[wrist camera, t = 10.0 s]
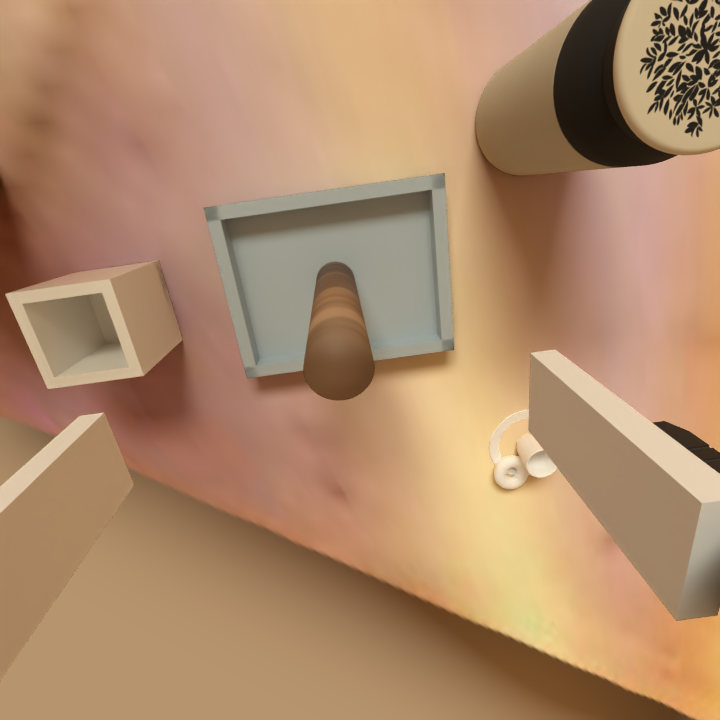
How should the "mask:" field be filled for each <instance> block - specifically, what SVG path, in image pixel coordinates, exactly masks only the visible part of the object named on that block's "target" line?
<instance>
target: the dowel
mask: <svg viewBox="0 0 720 720" xmlns="http://www.w3.org/2000/svg"><path fill="white" fill-rule="evenodd" d="M374 369H375V366H374V359H373V355H372V351H371V346H370V342H369V338H368V334H367V329H366V325H365V321H364V316H363V312H362V308H361V304H360V299H359V295H358V291H357V286H356V282H355V278H354V274H353V272H352V270H351V269H350V268H349V267H348V266H347V265H346V264H344V263H341V262H329V263H327V264H325V265H324V266H323V267H321V269H320V270H319V272H318V274H317V278H316V285H315V291H314V298H313V305H312V311H311V318H310V325H309V331H308V338H307V344H306V351H305V358H304V364H303V372H304V376H305V379H306V382H307V383H308V385H309V386H310V388H311V389H312V390H313V391H314V392H316V393H317V394H318V395H320V396H322V397H324V398H327V399H331V400H346V399H350V398H353V397H355V396H357V395H359V394H361V393H362V392H363V391H364V390H365V389H366V388H367V387H368V386H369V384H370V383H371V381H372V378H373V375H374Z"/></svg>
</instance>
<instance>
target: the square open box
mask: <svg viewBox="0 0 720 720" xmlns="http://www.w3.org/2000/svg"><path fill="white" fill-rule="evenodd" d="M5 295H6V297H7V299H8V302H9V304H10V306H11V308H12V311H13V313H14V315H15V317H16V319H17V322H18V324H19V326H20V328H21V331H22V333H23V335H24V337H25V340H26V342H27V344H28V346H29V348H30V351H31V353H32V355H33V357H34V360H35V362H36V364H37V366H38V368H39V371H40V373H41V375H42V377H43V380H44V382H45V384H46V386H47V388H48V389H53V388H60V387H67V386H74V385H82V384H89V383H96V382H103V381H111V380H118V379H125V378H132V377H140V376H144V375H145V374H146V373H147V372H149V371H150V370H151V369H152V368H153V367H154V366H155V365H156V364H157V363H158V362H159V361H160V360H161V359H162V358H164V357H165V356H166V355H167V354H168V353H169V352H170V351H171V350H172V349H173V348H174V347H175V346H176V345H178V344H179V343H180V342H181V341H182V340H183V339H182V336H181V332H180V329H179V326H178V323H177V319H176V316H175V313H174V309H173V306H172V303H171V300H170V296H169V293H168V290H167V286H166V283H165V280H164V277H163V273H162V270H161V267H160V263H159V261H151V262H144V263H137V264H130V265H123V266H116V267H109V268H102V269H95V270H88V271H81V272H75V273H72V274H68V275H65V276H62V277H59V278H55V279H52V280H49V281H45V282H42V283H39V284H36V285H32V286H29V287H26V288H23V289H19V290H16V291H13V292H9V293H6V294H5Z"/></svg>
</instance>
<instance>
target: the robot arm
mask: <svg viewBox="0 0 720 720" xmlns="http://www.w3.org/2000/svg"><path fill="white" fill-rule="evenodd" d="M528 430H529V432H530V433H531V434H532V435H533V437H534V438H535V439H536V441H537V442H538V443H539V445H540V446H541V447H542V448H543V450H544V451H545V452H546V454H547V455H548V456H549V457H550V459H551V460H552V461H553V463H554V464H555V465H556V466H557V468H558V469H559V470H560V472H561V473H562V474H563V475H564V477H565V478H566V479H567V481H568V482H569V483H570V485H571V486H572V487H573V488H574V490H575V491H576V492H577V494H578V495H579V496H580V497H581V499H582V500H583V501H584V503H585V504H586V505H587V506H588V508H589V509H590V510H591V512H592V513H593V514H594V515H595V517H596V518H597V519H598V521H599V522H600V523H601V525H602V526H603V527H604V528H605V530H606V531H607V532H608V534H609V535H610V536H611V537H612V539H613V540H614V541H615V543H616V544H617V545H618V546H619V548H620V549H621V550H622V552H623V553H624V554H625V556H626V557H627V558H628V559H629V561H630V562H631V563H632V565H633V566H634V567H635V568H636V570H637V571H638V572H639V574H640V575H641V576H642V577H643V579H644V580H645V581H646V583H647V584H648V585H649V586H650V588H651V589H652V590H653V592H654V593H655V594H656V596H657V597H658V598H659V599H660V601H661V602H662V603H663V605H664V606H665V607H666V608H667V610H668V611H669V612H670V614H671V615H672V616H673V617H674V619H675V620H676V621H679V620H686V619H694V618H701V617H708V616H716V615H718V611H719V608H720V453H719V452H718V451H717V450H715V449H714V448H710V447H709V445H708V444H707V443H705V442H704V441H702V440H701V439H700V438H698V437H697V436H695V435H694V434H692V433H691V432H690V431H687V430H685V429H682V428H680V427H677V426H675V425H673V424H670V423H668V422H665V421H661V422H654V423H652V422H650V421H649V420H648V419H647V418H645V417H644V416H643V415H641V414H640V413H639V412H637V411H636V410H635V409H633V408H632V407H631V406H629V405H628V404H627V403H625V402H624V401H623V400H621V399H620V398H619V397H617V396H616V395H615V394H614V393H612V392H611V391H610V390H608V389H607V388H606V387H604V386H603V385H602V384H600V383H599V382H598V381H596V380H595V379H594V378H592V377H591V376H590V375H588V374H587V373H586V372H584V371H583V370H582V369H581V368H579V367H578V366H577V365H575V364H574V363H573V362H571V361H570V360H569V359H567V358H566V357H565V356H563V355H562V354H561V353H559V352H558V351H557V350H555V349H554V350H547V351H540V352H533V353H530V384H529V429H528ZM133 486H134V484H133V481H132V479H131V476H130V474H129V471H128V469H127V467H126V464H125V462H124V459H123V457H122V455H121V452H120V450H119V447H118V445H117V442H116V440H115V438H114V435H113V433H112V430H111V428H110V426H109V423H108V421H107V418H106V416H105V414H104V413H97V414H90V415H83V416H79V417H78V418H77V419H76V420H74V421H73V422H72V423H71V424H70V425H69V426H68V427H67V428H65V429H64V430H63V431H62V432H61V433H60V434H59V435H58V436H56V437H55V438H54V439H53V440H52V441H51V442H50V443H49V444H47V445H46V446H45V447H44V448H43V449H42V450H41V451H40V452H39V453H37V454H36V455H35V456H34V457H33V458H32V459H31V460H29V461H28V462H27V463H26V464H25V465H24V466H23V467H22V468H21V469H19V470H18V471H17V472H16V473H15V474H14V475H13V476H12V477H10V478H9V479H8V480H7V481H6V482H5V483H4V484H3V485H2V486H0V681H1V679H2V678H3V676H4V675H5V673H6V672H7V670H8V669H9V668H10V666H11V665H12V663H13V662H14V660H15V659H16V657H17V656H18V654H19V653H20V651H21V650H22V648H23V647H24V645H25V644H26V643H27V641H28V640H29V638H30V637H31V635H32V634H33V632H34V631H35V629H36V628H37V626H38V625H39V624H40V622H41V621H42V619H43V618H44V616H45V615H46V613H47V612H48V610H49V609H50V607H51V606H52V605H53V603H54V602H55V600H56V599H57V597H58V595H59V594H60V593H61V591H62V590H63V588H64V587H65V585H66V584H67V583H68V581H69V579H70V578H71V577H72V575H73V574H74V572H75V571H76V569H77V568H78V566H79V565H80V563H81V562H82V561H83V559H84V558H85V556H86V555H87V553H88V552H89V550H90V549H91V547H92V546H93V544H94V543H95V541H96V540H97V538H98V537H99V536H100V534H101V533H102V531H103V530H104V528H105V527H106V525H107V524H108V522H109V521H110V519H111V518H112V517H113V515H114V514H115V512H116V511H117V509H118V508H119V506H120V505H121V503H122V502H123V500H124V499H125V498H126V496H127V495H128V493H129V492H130V490H131V489H132V487H133Z"/></svg>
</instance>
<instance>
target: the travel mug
mask: <svg viewBox="0 0 720 720" xmlns="http://www.w3.org/2000/svg"><path fill="white" fill-rule="evenodd" d="M476 135H477V139H478V143H479V146H480V148H481V150H482V152H483V154H484V156H485V157H486V158H487V160H488V161H489V162H490V163H491V164H492V165H493V166H494V167H496V168H497V169H499V170H501V171H503V172H505V173H508V174H512V175H521V176H522V175H534V174H546V173H558V172H570V171H582V170H594V169H606V168H618V167H630V166H642V165H650V164H655V163H659V162H662V161H665V160H668V159H670V158H672V157H674V156H677V155H697V154H703V153H707V152H711V151H714V150H717V149H720V0H589V1H588V2H587V3H586V4H584V5H583V6H582V7H580V8H579V9H578V10H576V11H575V12H574V13H573V14H571V15H570V16H569V17H567V18H566V19H565V20H563V21H562V22H561V23H560V24H558V25H557V26H556V27H554V28H553V29H552V30H550V31H549V32H548V33H547V34H545V35H544V36H543V37H541V38H540V39H539V40H537V41H536V42H535V43H534V44H532V45H531V46H530V47H528V48H527V49H526V50H524V51H523V52H522V53H521V54H519V55H518V56H517V57H515V58H514V59H513V60H511V61H510V62H509V63H508V64H506V65H505V66H504V67H502V68H501V69H500V70H499V71H498V72H497V73H496V74H495V75H494V76H493V77H492V79H491V80H490V81H489V83H488V84H487V86H486V87H485V89H484V91H483V93H482V95H481V98H480V101H479V104H478V107H477V113H476Z"/></svg>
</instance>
